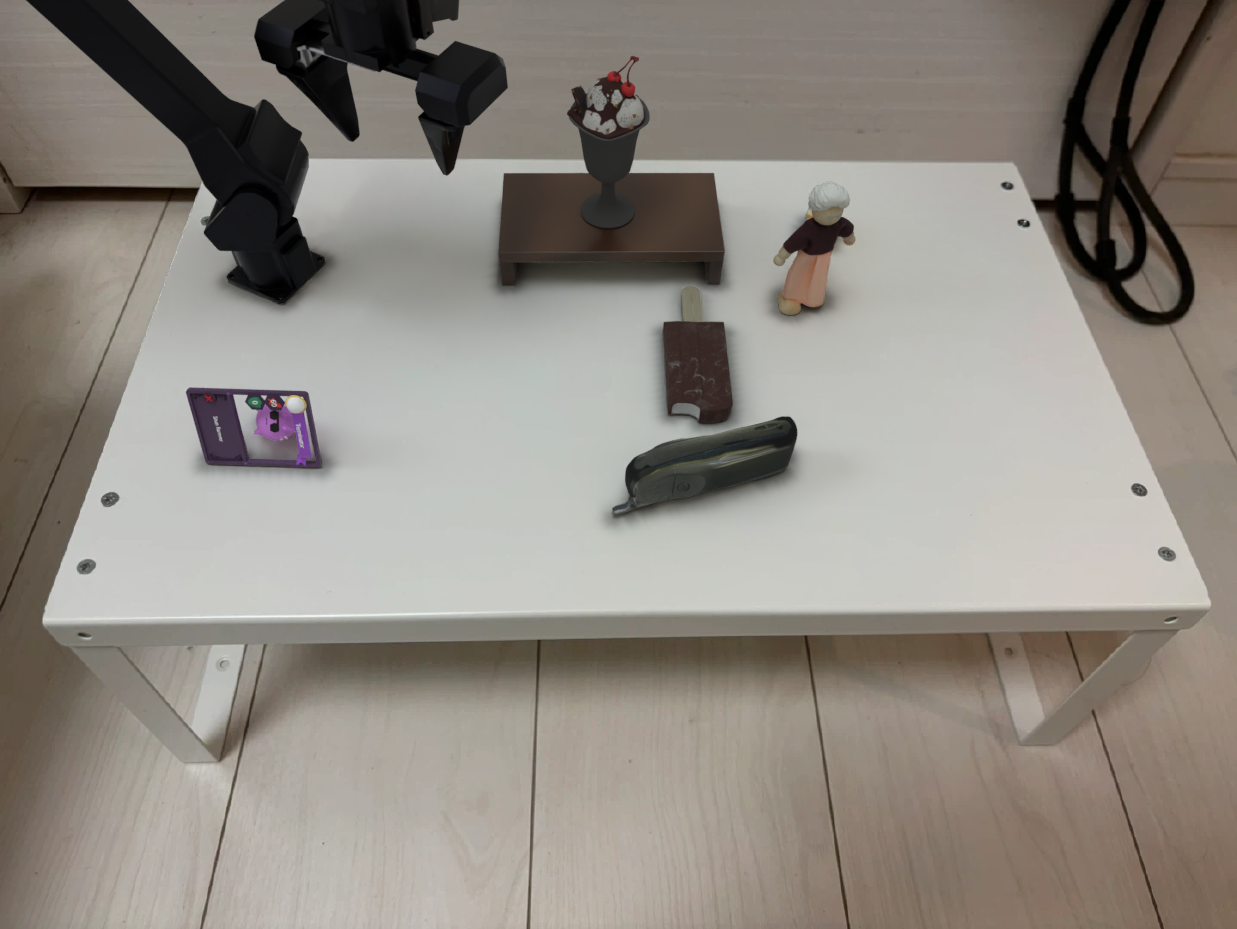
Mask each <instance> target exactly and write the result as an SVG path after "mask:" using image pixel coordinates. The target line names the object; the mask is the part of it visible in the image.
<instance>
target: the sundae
mask: <svg viewBox="0 0 1237 929" xmlns="http://www.w3.org/2000/svg"><path fill="white" fill-rule="evenodd" d="M639 60H640V57H637V56H635V55H631V56H629V60H628V61H627V63H625V65H624V66H623V67H621V68H620V69H619V70H618V71H616V70H611V71H610V72H608V74H607V76H604V77H603V76H602V77H597V80H595V81H594V82H593V83H592V84H591V85H589V87H588V89H587V92H586V91H585V89H584V87H583V86H582V85H578V86H575V87H573V88H571V91H570V92H571V95H572V97H573V100H574V102H573V103H572V105H571V106H570V108H569V109H568V110H567V111H566V115H567V116H568V119H569V121H570V122H571V123H572V124H573V125H574V126H575V127H576V128H577V129H578V133H579V137H580V144H581V149H582V150H581V151H582V156H583V157H582V158H583V161H584V165H585V168H586V172H587V173H589V174H590V175H591V176H593V177H594V178H595V179H596V180H598V181H599V182H602V190H601V193H597V194H594V195H592V196H591V197H589V198H587V199H586V200H585V201H584V203H583V204H582V207H581V214H582V216H583V218H584V219H585V220H586V221H587V222H589V223H590V224H592V225H594V226H597V227H600V228H616V227H620V226H623V225H625V224H626V223H628V222H629V221H630V220H631V219H632V218H633V216H634V213H635V208H634V205H633V204H632V202H631V201H630V200H629V199H628V198H626V197H625V196H623V195H621V194H618V193H615V182H618V181H620V180H621V179H623V178H624V177H625V176H626V175H627V174H628V173H631V170H632V167H633V162H634V158H635V152H636V147H637V141H638V137H639V134H640V131H641V130H642V129H643V128H645V127H646V126H647V125H648V124H649V122H650V120H651V119H650V118H651V115H650V110H649V108H648V106H647V105H646V102H645V101H644V100H643V99H641V97H640V96H639V95H637V94H635V93H636V86H635V84H634V83H632V82H631V81H630V72H631V69H632V67H633V66H634V65H635V64H636V63H637V62H639ZM631 62H632V63H631ZM629 63H631V65H630V66H629V68H628V70H627V73H626V81H624V82H623V81H622V75H621V72H622V71H624V69H626V67H628V65H629Z"/></svg>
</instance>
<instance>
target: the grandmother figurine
mask: <svg viewBox="0 0 1237 929" xmlns="http://www.w3.org/2000/svg"><path fill="white" fill-rule="evenodd" d="M850 203H851V198H850V194H849V192H848V190H847V189H846V188H845V187H843V186H842V185H841V184H839V183H836V182H833V181H832V180H831V181H824V182H823V183H821V184H820V183H819V184H815V186H814V187H813V188H812V190H811V191H810V192H809V194H808V202H807V206H808V207H809V209H810V210H812V215H813V217H812V218H810V219H808V220H806V221H805V222H804V221H803V223H802V224H801V225H800V226H799V227H798V228H797V229H796V230H795V231H794V232H792V234H791V235H790V236H789V237H788V238H787V239H786V240H785V241H783V243H782V246H781V247H780V248H779V249H778V253H777V254H775V255H774V257H773V258H772V259H773V260H772V261H773V264H774V265H775V266H777V267H782V266H783V265H784V264H785V263H786V260H788V259H789V258H790V257H791V255H793V254H794V253H796V256H795V257H794V259H793V261H792V263H791V265H790V267H789V268H788V270H787V273H786V276H785V280H784V284H783V287H782V290H781V292H780V293H779V294H778V296H777V304H778V309H779V311H780V312H781V313H782V314H784V315H786V316H793V315H797V314H799V313H800V312H801V311H802V305H801V304H803V305H804V306H806V307H810V308H819V307H822V306H823V305H824V304H825V296H826V295H825V294H826V289H827V284H828V277H829V270H830V265H831V257H832V254H833V253H834V252H833V251H834V249H835V244H836V242H837V240H838V237H839V238H842V241H843V243H844V245H846V246H853V245H854V244H855V243H856V240H857V238H856V236H855V232H854V230H855V225H854V224H853V222H851V221H850V220H849V219H847V218H846V217H845V216H843V214H844V211H845V210H844V209H846V208H848V207H849V206H850Z"/></svg>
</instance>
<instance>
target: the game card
mask: <svg viewBox="0 0 1237 929" xmlns="http://www.w3.org/2000/svg"><path fill="white" fill-rule="evenodd" d="M185 394H186V398H187V401H188V405H189V408H190V412H191V416H192V419H193V424H194V426H195V431H196V434H197V437H198V441H199V444H200V448H201V452H202V456H203V459H204V462H205V463H206V464H207V465H222V466H223V465H225V466H255V467H284V468H285V467H287V468H320V467H321V466H322V463H323V461H322V455H321V450H320V446H319V440H318V435H317V430H316V425H315V420H314V415H313V409H312V404H311V399H310V398H311V397H310V394H309V392H308V391H305V390H287V389H286V390H285V389H284V390H283V389H282V390H281V389H255V388H254V389H252V388H251V389H250V388H246V389H245V388H225V387H224V388H220V387H188V388H187V389H186V391H185ZM235 395H236V396H246V398H245V400H244V403H245V404H246V405H247V406H248V407H249V408H250V409H251V410H252V411H253V410H255V411H257V413H256V416H255V423H256V429H254V432H253V435H256V436H262V437H264V438H266V439H267V440H271V441H283V440H289V437H291V436H293V434H294V433H295V437H296V438H295V439H296V445H297V451H298V454H297V456H296V459H277V458H276V459H274V458H273V459H272V458H250V457H249V452H248V448H247V444H246V441H245V436H244V434H243V433H244V432H243V429H242V425H241V421H240V417H239V413H238V409H237V405H236V401H235ZM263 396H266V397H265V399H264V398H263ZM282 397H287V398H285V400H284V399H283V398H282ZM305 414H306V416H305ZM306 419H307V420H306ZM306 421H307V422H306ZM307 423H308V424H307ZM307 425H308V427H307ZM308 429H309V432H308ZM309 434H310V438H309ZM310 439H311V445H312V449H313V456H314V460H307V459H312V451H311V450H312V449H311V445H310Z"/></svg>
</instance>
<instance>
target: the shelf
mask: <svg viewBox="0 0 1237 929" xmlns="http://www.w3.org/2000/svg"><path fill="white" fill-rule="evenodd" d="M502 177H503V179H502V193H501V207H500V222H499V235H498V252H497V253H498V263H499V271H500V280H501V281H500V282H501V286H502V287H503V286H505V287H506V286H512V287H513V286H514V287H515V286H516V274H517V263H692V262H693V263H699V262H701V263H702V262H703V263H704V270H705V278H706V284H707V286H708V285H720V284H721V279H722V273H723V266H724V259H725V253H726V250H725V243H724V242H725V241H724V236H723V229H722V221H721V214H720V208H719V207H720V206H719V198H718V191H717V185H716V177H715V173H714V172H629V173H628V174H627V175H626V176H625V177H624V178H623V179H621V180H620V181H618V182H615V193H618V194H621V195H623V196H625V197H626V198H628V199H629V200H630V201H631V202H632V204H633V205H634V208H635V213H634V216H633V218H632V219H631V220H630V221H629V222H628V223H626V224H625V225H623V226H620V227H616V228H600V227H597V226H594V225H592V224H590V223H589V222H587V221H586V220H585V219H584V218H583V216H582V214H581V207H582V204H583V203H584V201H585V200H586V199H587V198H589V197H591V196H592V195H594V194H597V193H601V190H602V182H599V181H598V180H596V179H595V178H594V177H593V176H591V175H590V174H589V173H588V172H503V176H502Z"/></svg>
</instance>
